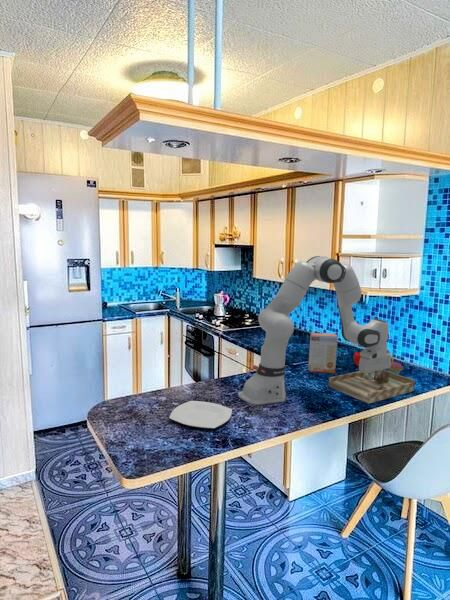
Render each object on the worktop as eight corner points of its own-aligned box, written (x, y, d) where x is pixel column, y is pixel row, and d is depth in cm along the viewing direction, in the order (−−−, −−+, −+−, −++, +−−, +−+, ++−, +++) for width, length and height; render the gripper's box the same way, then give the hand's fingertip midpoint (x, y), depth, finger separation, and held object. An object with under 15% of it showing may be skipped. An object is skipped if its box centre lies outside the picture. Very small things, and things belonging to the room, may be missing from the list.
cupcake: (385, 375, 227) (387, 354, 226) (385, 371, 235) (387, 350, 234) (402, 378, 225) (405, 356, 223) (401, 373, 233) (403, 352, 231)
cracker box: (333, 370, 233) (336, 333, 229) (335, 374, 227) (338, 336, 223) (307, 368, 234) (310, 331, 231) (308, 372, 228) (311, 334, 225)
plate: (188, 402, 181) (188, 397, 181) (238, 412, 173) (238, 408, 173) (161, 423, 160) (161, 418, 160) (217, 436, 152) (217, 431, 152)
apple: (351, 367, 240) (352, 353, 239) (354, 363, 248) (355, 350, 247) (367, 370, 236) (369, 356, 235) (370, 366, 244) (371, 352, 243)
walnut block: (381, 382, 207) (383, 372, 206) (373, 379, 211) (375, 369, 210) (388, 382, 209) (390, 372, 209) (379, 379, 213) (381, 369, 213)
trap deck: (368, 403, 188) (369, 392, 187) (328, 386, 207) (329, 375, 207) (413, 391, 206) (415, 380, 205) (372, 376, 226) (373, 366, 225)
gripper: (384, 347, 213) (382, 373, 215) (357, 352, 201) (355, 380, 204) (395, 350, 207) (392, 377, 209) (368, 356, 196) (365, 384, 198)
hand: (374, 379), depth 206 cm, fingers open, 4 cm apart
